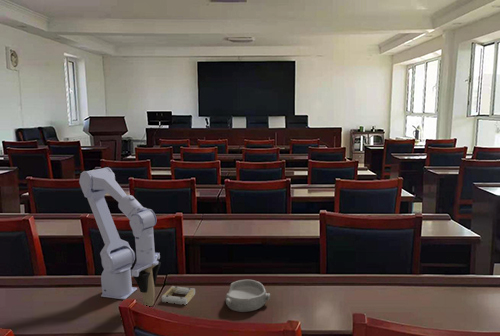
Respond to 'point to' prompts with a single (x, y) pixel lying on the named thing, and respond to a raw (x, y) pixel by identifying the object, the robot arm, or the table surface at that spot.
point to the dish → (246, 295)
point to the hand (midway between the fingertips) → (148, 288)
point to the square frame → (179, 290)
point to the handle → (149, 288)
